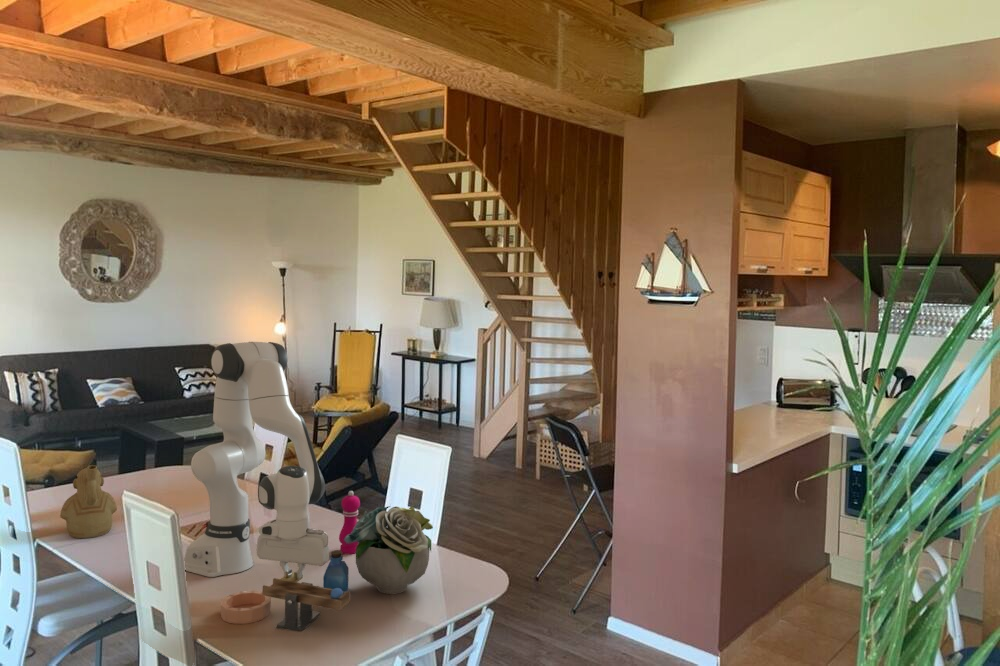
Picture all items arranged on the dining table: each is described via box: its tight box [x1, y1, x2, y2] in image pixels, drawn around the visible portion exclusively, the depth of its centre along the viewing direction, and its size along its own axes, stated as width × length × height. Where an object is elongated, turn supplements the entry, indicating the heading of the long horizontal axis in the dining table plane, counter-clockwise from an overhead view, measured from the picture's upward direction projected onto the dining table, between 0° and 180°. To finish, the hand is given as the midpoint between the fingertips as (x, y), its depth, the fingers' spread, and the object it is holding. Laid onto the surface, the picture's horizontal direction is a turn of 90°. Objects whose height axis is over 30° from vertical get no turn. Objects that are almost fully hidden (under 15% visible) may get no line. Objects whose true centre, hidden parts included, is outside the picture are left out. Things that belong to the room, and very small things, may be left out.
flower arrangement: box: [344, 506, 434, 595], centre depth 215 cm, size 25×25×24 cm
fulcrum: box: [276, 582, 321, 633], centre depth 193 cm, size 7×10×9 cm
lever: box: [261, 572, 351, 611], centre depth 196 cm, size 22×14×3 cm, turn 76°
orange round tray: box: [220, 590, 272, 625], centre depth 197 cm, size 12×12×4 cm
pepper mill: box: [338, 490, 361, 555], centre depth 244 cm, size 7×7×20 cm
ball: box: [331, 588, 343, 600], centre depth 190 cm, size 3×3×3 cm
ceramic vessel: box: [59, 464, 118, 539], centre depth 254 cm, size 17×20×25 cm
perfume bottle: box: [322, 549, 349, 592], centre depth 211 cm, size 6×6×12 cm
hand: (293, 577), depth 202 cm, fingers closed
